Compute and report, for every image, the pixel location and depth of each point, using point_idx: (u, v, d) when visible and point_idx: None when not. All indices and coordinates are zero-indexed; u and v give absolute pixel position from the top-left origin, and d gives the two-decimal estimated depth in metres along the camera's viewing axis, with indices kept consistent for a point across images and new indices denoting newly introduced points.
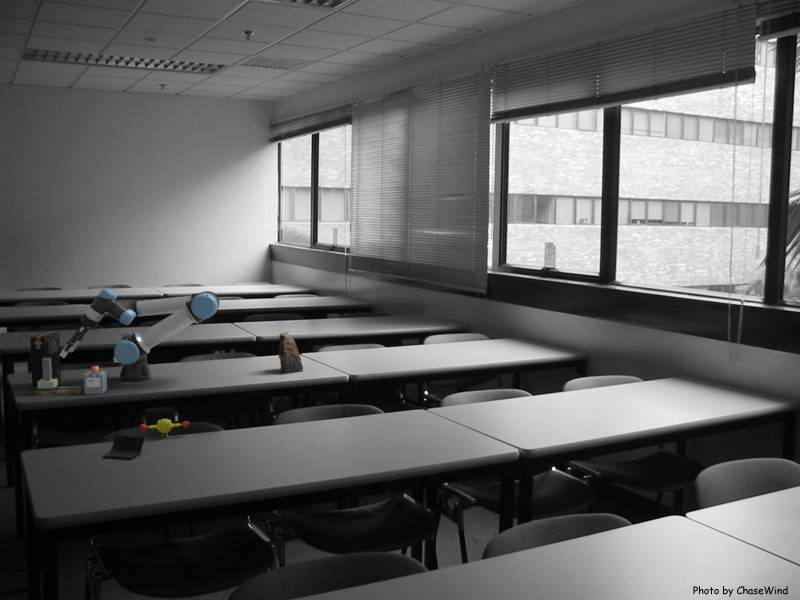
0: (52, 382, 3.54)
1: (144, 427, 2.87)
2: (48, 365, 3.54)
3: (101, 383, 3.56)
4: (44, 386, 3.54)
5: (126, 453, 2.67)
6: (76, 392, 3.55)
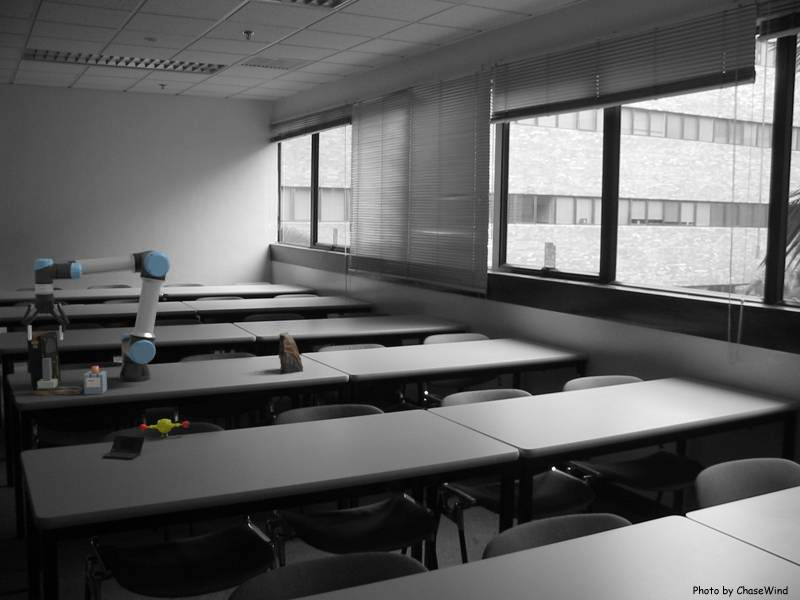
0: (52, 382, 3.54)
1: (144, 427, 2.87)
2: (48, 365, 3.54)
3: (101, 383, 3.56)
4: (44, 386, 3.54)
5: (126, 453, 2.67)
6: (76, 392, 3.55)
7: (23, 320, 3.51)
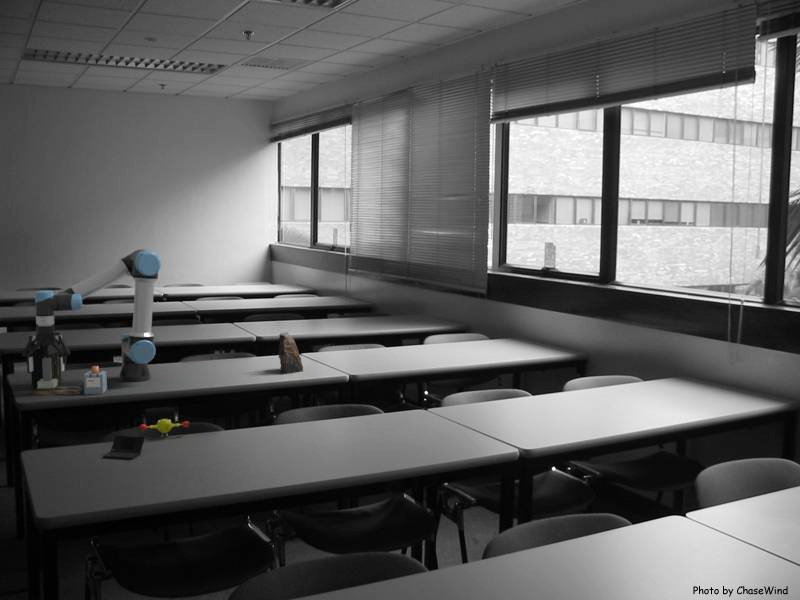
0: (52, 382, 3.54)
1: (144, 427, 2.87)
2: (48, 365, 3.54)
3: (101, 383, 3.56)
4: (44, 386, 3.54)
5: (126, 453, 2.67)
6: (76, 392, 3.55)
7: (24, 352, 3.52)
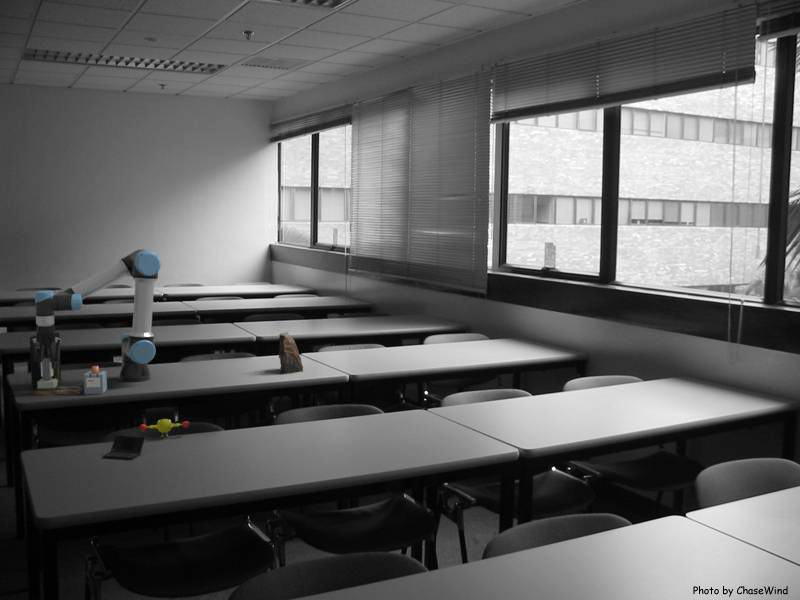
0: (52, 382, 3.54)
1: (144, 427, 2.87)
2: (48, 365, 3.54)
3: (101, 383, 3.56)
4: (44, 386, 3.54)
5: (126, 453, 2.67)
6: (76, 392, 3.55)
7: (34, 356, 3.53)
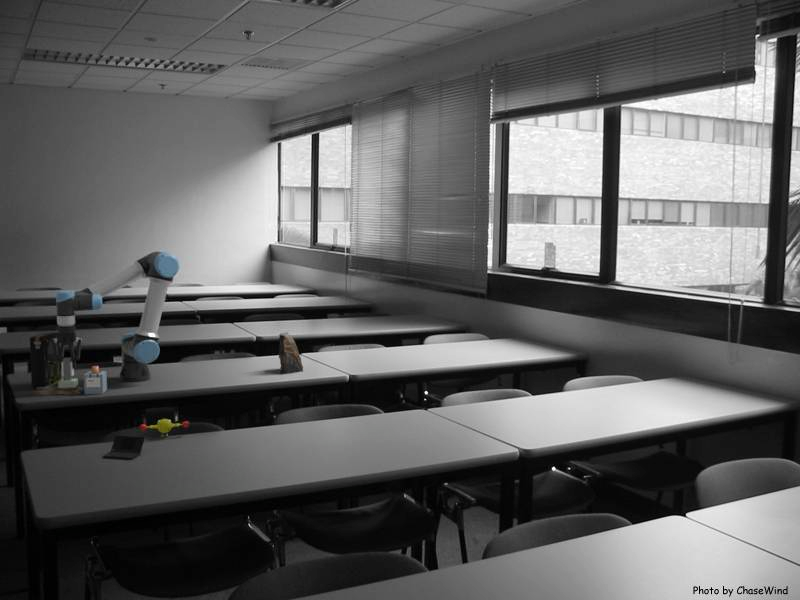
0: (73, 382, 3.55)
1: (144, 427, 2.87)
2: (69, 365, 3.56)
3: (101, 383, 3.56)
4: (65, 386, 3.55)
5: (126, 453, 2.67)
6: (76, 392, 3.55)
7: (55, 356, 3.55)
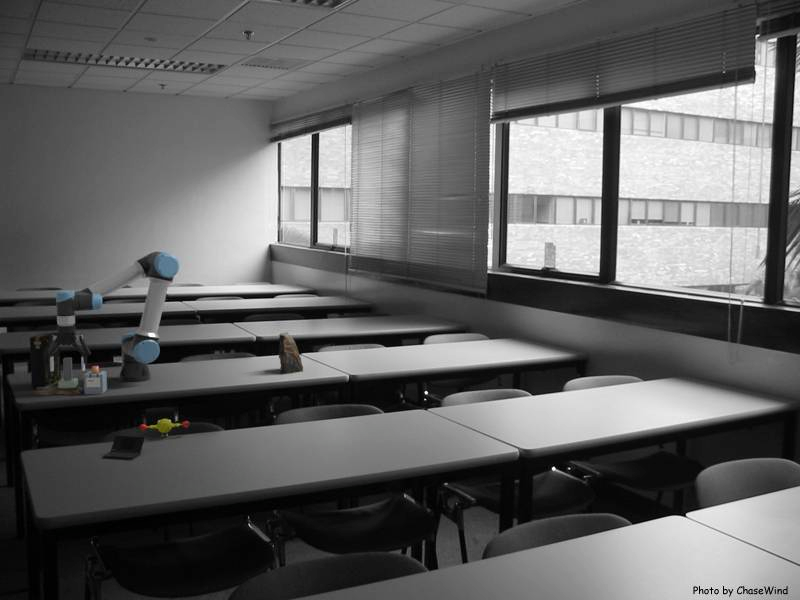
0: (73, 382, 3.55)
1: (144, 427, 2.87)
2: (69, 365, 3.56)
3: (101, 383, 3.56)
4: (65, 386, 3.55)
5: (126, 453, 2.67)
6: (76, 392, 3.55)
7: (45, 352, 3.54)
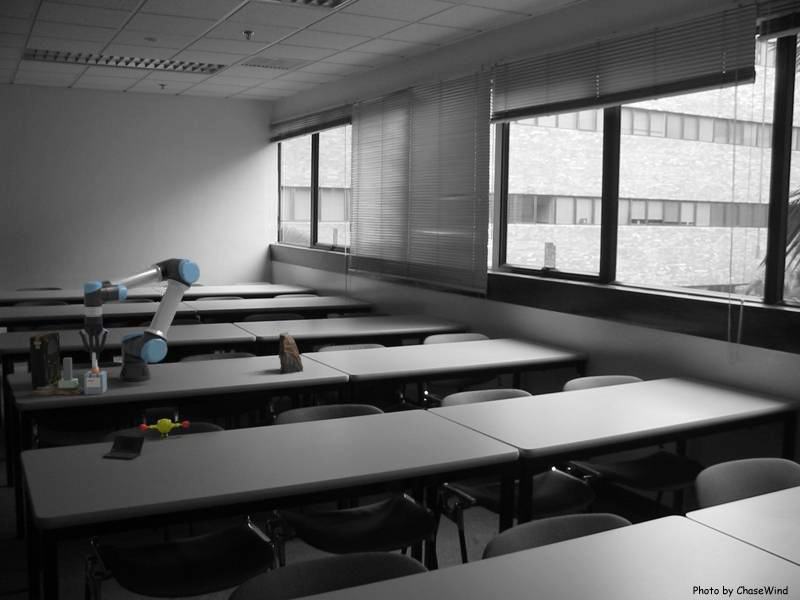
0: (73, 382, 3.55)
1: (144, 427, 2.87)
2: (69, 365, 3.56)
3: (101, 383, 3.56)
4: (65, 386, 3.55)
5: (126, 453, 2.67)
6: (76, 392, 3.55)
7: (86, 347, 3.56)
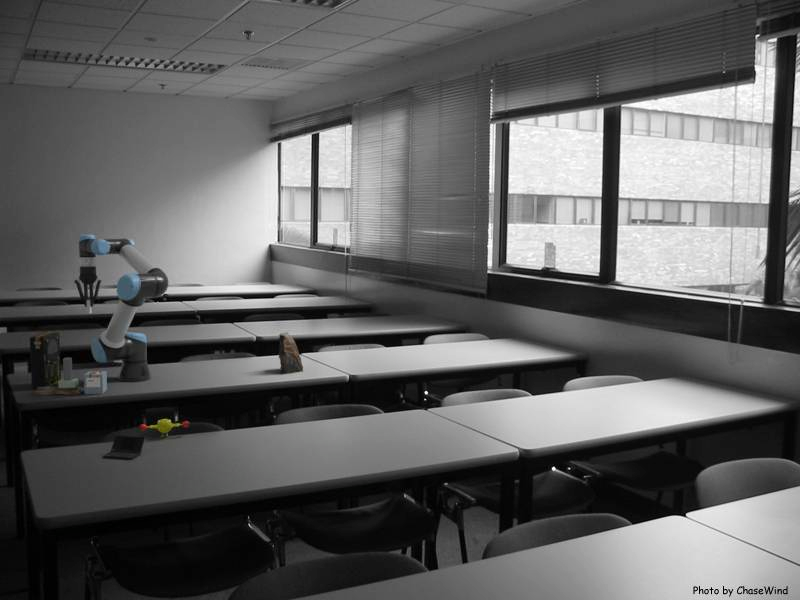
0: (73, 382, 3.55)
1: (144, 427, 2.87)
2: (69, 365, 3.56)
3: (101, 383, 3.56)
4: (65, 386, 3.55)
5: (126, 453, 2.67)
6: (76, 392, 3.55)
7: (81, 295, 3.85)
